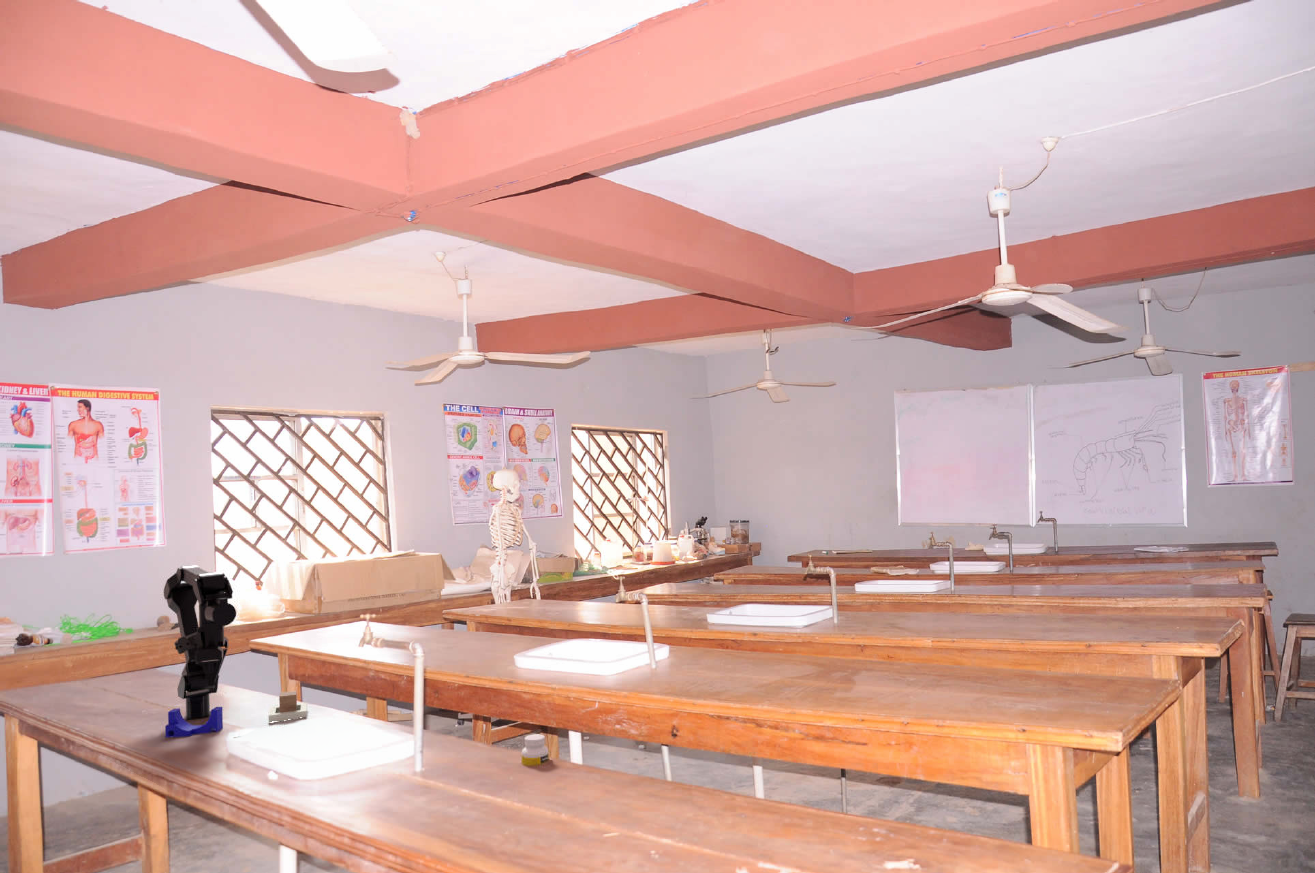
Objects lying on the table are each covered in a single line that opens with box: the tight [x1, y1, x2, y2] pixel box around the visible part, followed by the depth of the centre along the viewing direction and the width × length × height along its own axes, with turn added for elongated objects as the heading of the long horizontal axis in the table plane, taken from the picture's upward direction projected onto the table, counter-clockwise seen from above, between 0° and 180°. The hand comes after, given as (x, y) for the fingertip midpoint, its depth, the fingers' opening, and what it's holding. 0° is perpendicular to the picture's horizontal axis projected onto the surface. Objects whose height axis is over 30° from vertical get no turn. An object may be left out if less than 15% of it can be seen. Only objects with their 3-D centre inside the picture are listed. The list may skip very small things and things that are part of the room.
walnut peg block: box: [278, 690, 298, 713], centre depth 235 cm, size 4×4×7 cm
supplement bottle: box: [521, 733, 550, 767], centre depth 181 cm, size 5×5×10 cm
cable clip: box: [164, 706, 224, 738], centre depth 227 cm, size 12×4×6 cm, turn 93°
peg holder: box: [268, 702, 308, 723], centre depth 235 cm, size 9×9×3 cm
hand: (212, 681), depth 234 cm, fingers open, 9 cm apart
